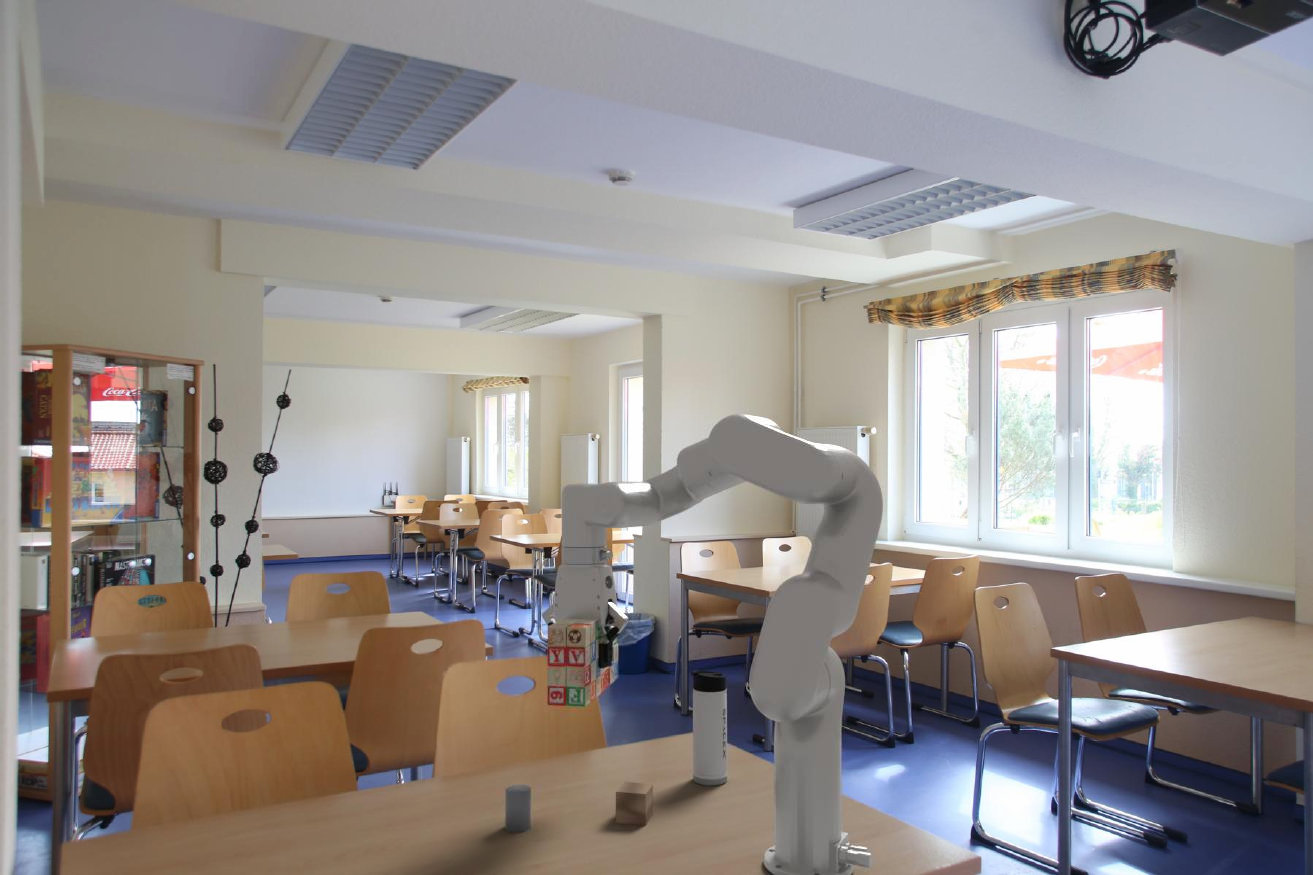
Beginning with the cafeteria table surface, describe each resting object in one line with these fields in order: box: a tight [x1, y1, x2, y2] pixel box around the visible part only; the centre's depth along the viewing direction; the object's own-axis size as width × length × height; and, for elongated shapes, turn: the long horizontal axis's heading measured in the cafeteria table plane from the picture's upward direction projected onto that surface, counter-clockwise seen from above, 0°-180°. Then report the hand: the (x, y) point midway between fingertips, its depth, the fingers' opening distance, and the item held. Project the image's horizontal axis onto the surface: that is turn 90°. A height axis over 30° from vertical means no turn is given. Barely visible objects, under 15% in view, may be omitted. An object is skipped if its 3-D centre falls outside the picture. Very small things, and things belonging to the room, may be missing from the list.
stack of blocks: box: [546, 618, 619, 708], centre depth 149 cm, size 21×6×12 cm, turn 169°
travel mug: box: [690, 670, 728, 787], centre depth 165 cm, size 6×7×20 cm
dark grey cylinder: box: [504, 784, 532, 834], centre depth 142 cm, size 4×4×6 cm
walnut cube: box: [615, 781, 654, 826], centre depth 146 cm, size 5×5×5 cm
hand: (584, 664), depth 148 cm, fingers closed on stack of blocks, 7 cm apart
